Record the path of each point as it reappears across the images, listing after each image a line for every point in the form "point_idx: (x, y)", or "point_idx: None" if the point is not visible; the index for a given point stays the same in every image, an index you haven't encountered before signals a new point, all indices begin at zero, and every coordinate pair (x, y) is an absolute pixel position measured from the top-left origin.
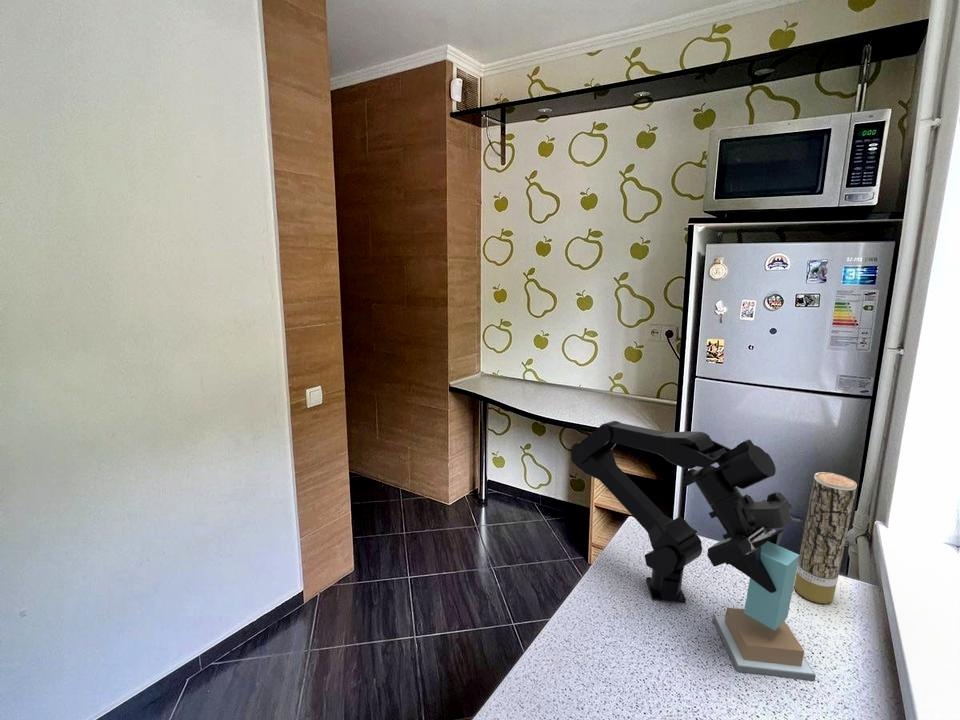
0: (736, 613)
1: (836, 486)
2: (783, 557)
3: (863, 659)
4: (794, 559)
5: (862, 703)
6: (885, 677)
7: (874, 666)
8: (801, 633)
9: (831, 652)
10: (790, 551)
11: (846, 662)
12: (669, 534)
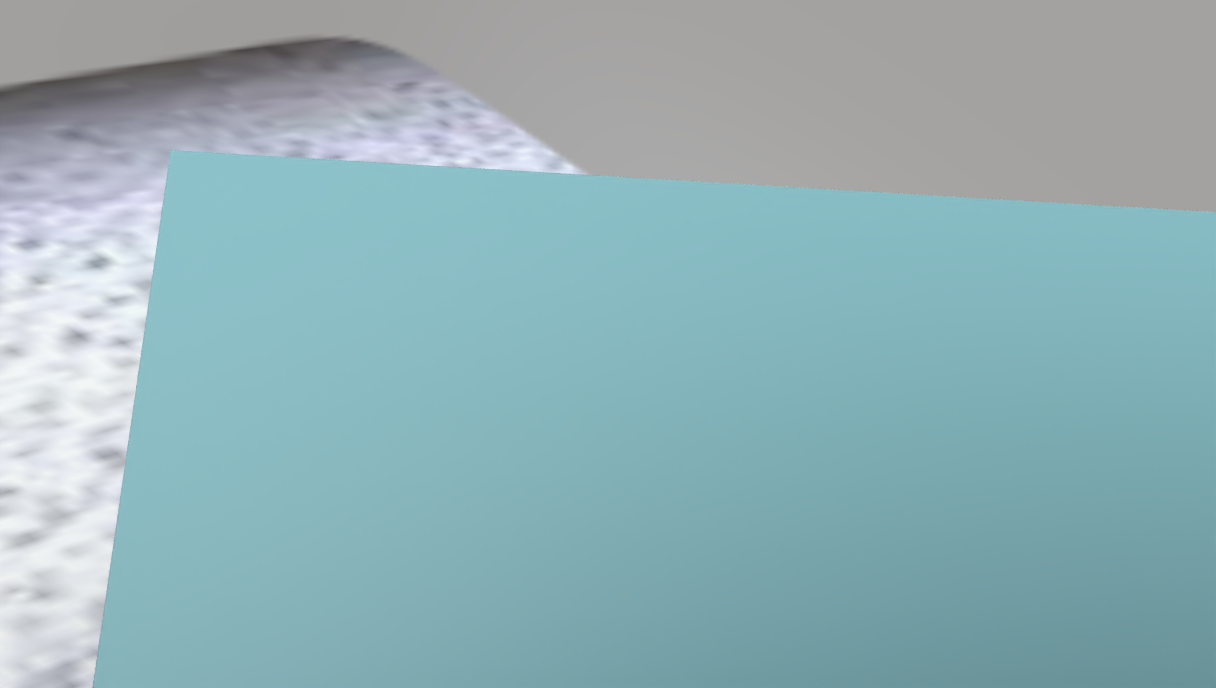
0: None
1: None
2: (1136, 563)
3: (20, 206)
4: (804, 192)
5: (462, 139)
6: (112, 93)
7: (45, 149)
8: (48, 576)
9: (118, 358)
10: (155, 609)
11: (152, 268)
12: None
